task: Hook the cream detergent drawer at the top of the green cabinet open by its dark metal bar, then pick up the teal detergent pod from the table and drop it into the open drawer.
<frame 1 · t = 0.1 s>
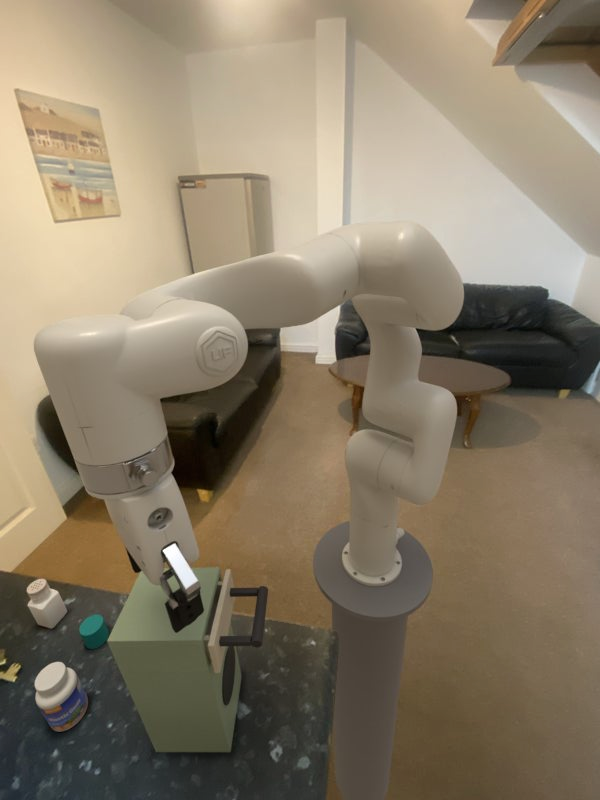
hand: (166, 590, 40), 33 cm above the countertop, tool pointing down, fingers open, 9 cm apart
salt shaker: (53, 619, 73), on the countertop
pod: (97, 638, 69), on the countertop
green cabinet: (201, 711, 58), on the countertop
drawer: (203, 617, 48), point 23 cm above the countertop, slide at 0.5 cm
pill bottle: (70, 712, 59), on the countertop
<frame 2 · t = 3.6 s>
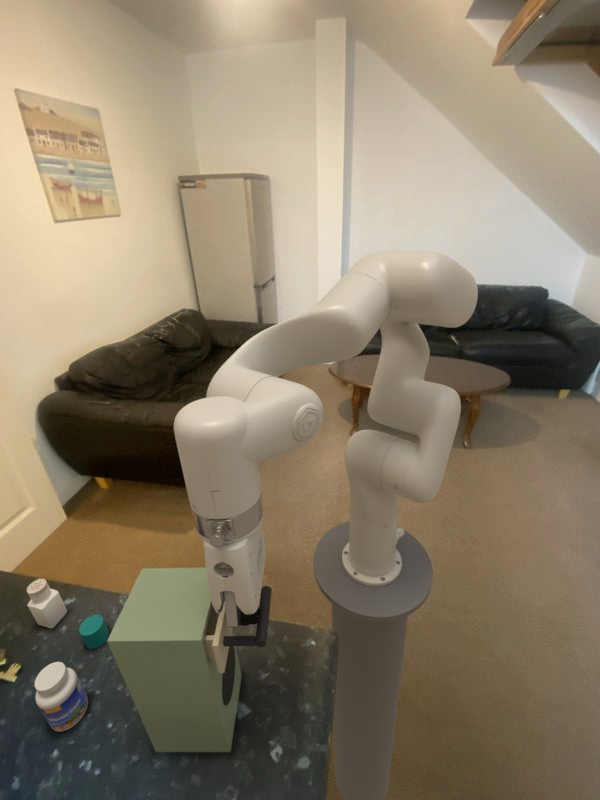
hand: (246, 618, 48), 22 cm above the countertop, tool pointing down, fingers closed
drawer: (207, 617, 48), point 23 cm above the countertop, slide at 1.0 cm, touching gripper
everything else where it was.
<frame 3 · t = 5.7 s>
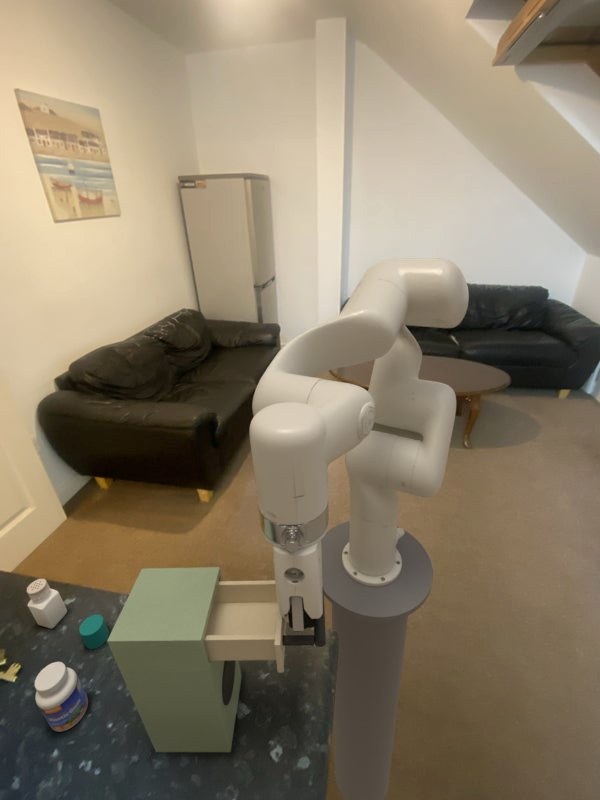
hand: (301, 621, 48), 22 cm above the countertop, tool pointing down, fingers closed
drawer: (262, 616, 48), point 23 cm above the countertop, slide at 8.1 cm, touching gripper
everything else where it was.
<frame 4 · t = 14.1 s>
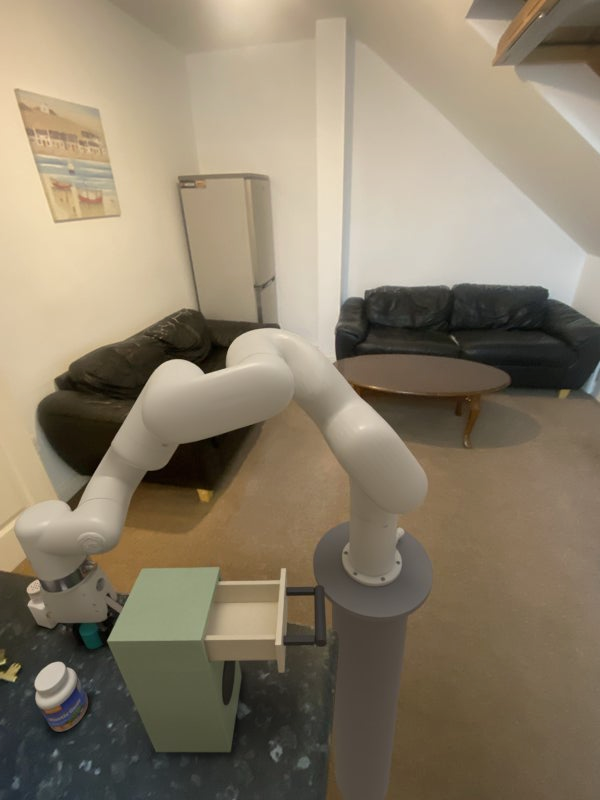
hand: (96, 637, 69), 0 cm above the countertop, tool pointing down, fingers closed on pod, 4 cm apart
pod: (97, 638, 69), on the countertop, touching gripper
drawer: (262, 616, 48), point 23 cm above the countertop, slide at 8.2 cm
everything else where it was.
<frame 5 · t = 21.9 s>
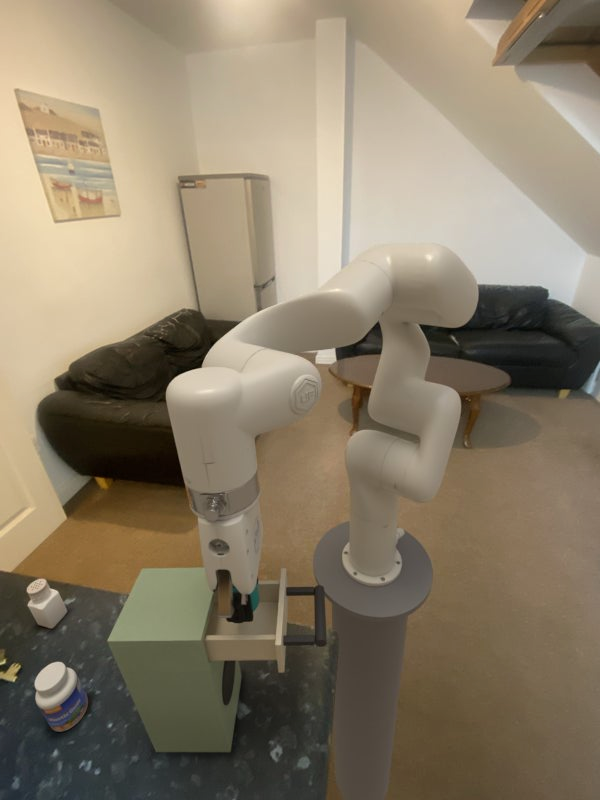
hand: (243, 600, 46), 26 cm above the countertop, tool pointing down, fingers closed on pod, 4 cm apart
pod: (243, 601, 47), point 26 cm above the countertop, touching gripper
everything else where it was.
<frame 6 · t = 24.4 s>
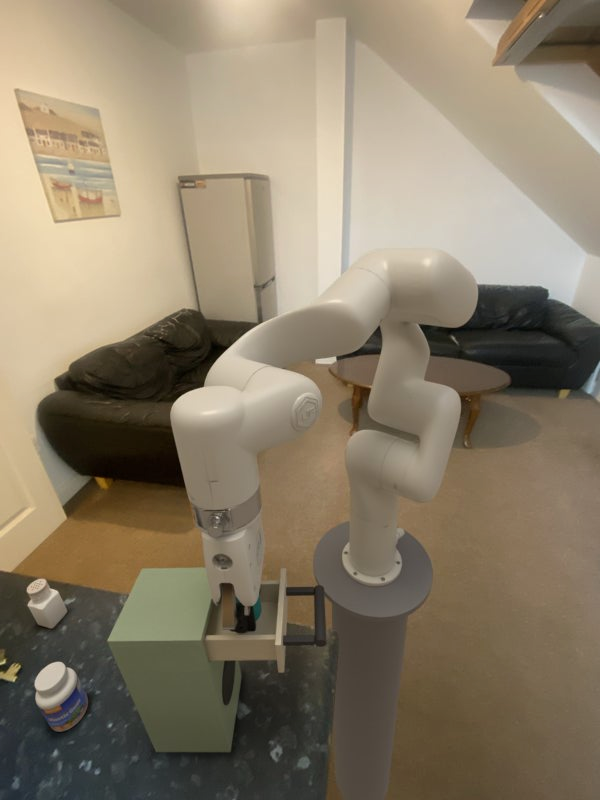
hand: (246, 610, 47), 24 cm above the countertop, tool pointing down, fingers closed on pod, 4 cm apart
pod: (246, 611, 48), point 24 cm above the countertop, touching gripper
everything else where it was.
when the fingers open (26 cm above the countertop, at t = 29.8 s): pod drops 5 cm, resting on drawer.
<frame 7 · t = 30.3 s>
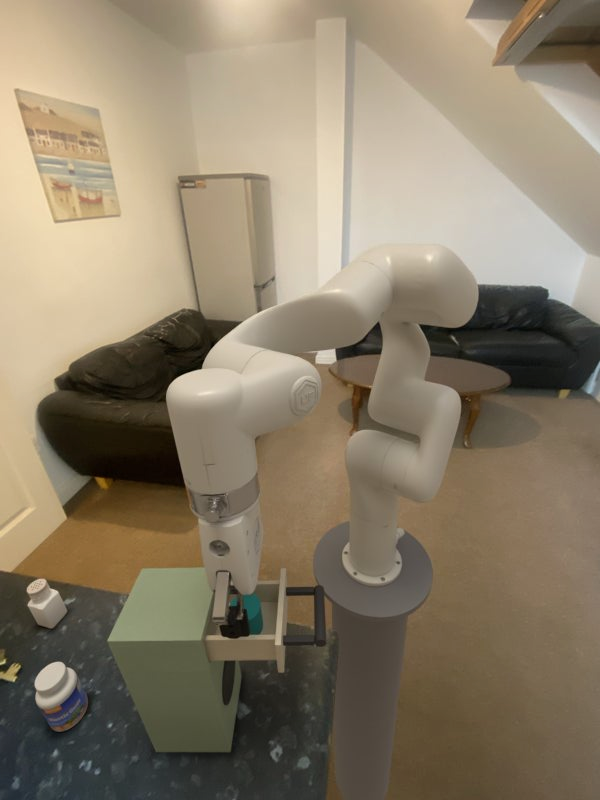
hand: (242, 595, 46), 27 cm above the countertop, tool pointing down, fingers open, 9 cm apart
pod: (248, 626, 49), point 21 cm above the countertop, touching drawer
drawer: (262, 616, 48), point 23 cm above the countertop, slide at 8.2 cm, touching pod
everything else where it was.
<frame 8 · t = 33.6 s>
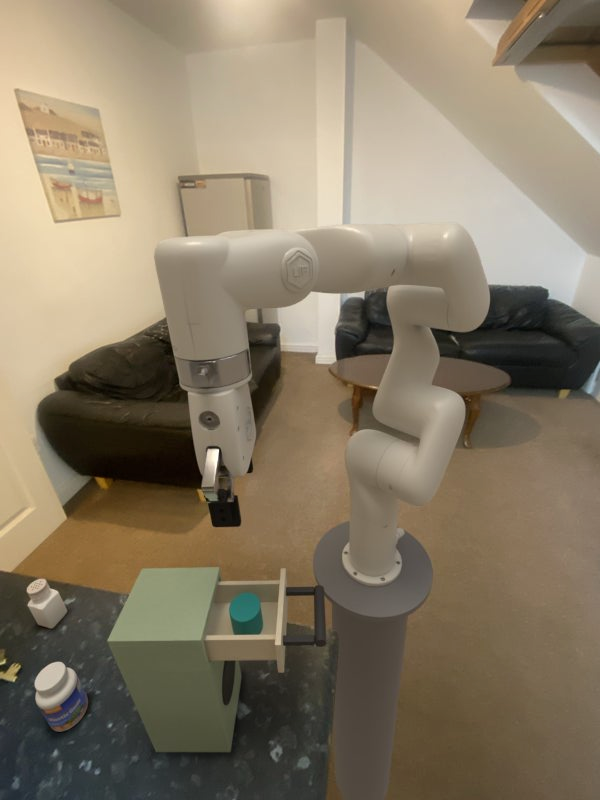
hand: (235, 496, 46), 38 cm above the countertop, tool pointing down, fingers open, 9 cm apart
nothing on the countertop moved.
at the end: drawer slide at 8.2 cm; pod inside the target area on the green cabinet (0.1 cm from its centre), point 20.7 cm above the green cabinet's base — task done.
